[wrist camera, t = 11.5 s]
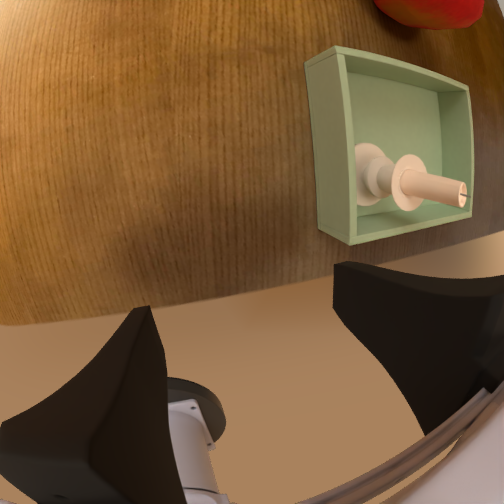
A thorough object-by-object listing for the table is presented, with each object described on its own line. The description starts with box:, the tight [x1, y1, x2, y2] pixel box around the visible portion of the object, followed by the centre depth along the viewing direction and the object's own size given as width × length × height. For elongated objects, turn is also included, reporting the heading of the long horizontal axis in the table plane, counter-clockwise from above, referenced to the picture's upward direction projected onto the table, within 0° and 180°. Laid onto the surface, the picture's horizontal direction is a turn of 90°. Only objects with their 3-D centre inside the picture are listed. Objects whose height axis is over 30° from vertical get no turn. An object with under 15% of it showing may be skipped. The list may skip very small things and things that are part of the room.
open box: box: [304, 46, 474, 246], centre depth 20 cm, size 13×16×4 cm
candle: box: [355, 143, 471, 211], centre depth 16 cm, size 5×5×10 cm
